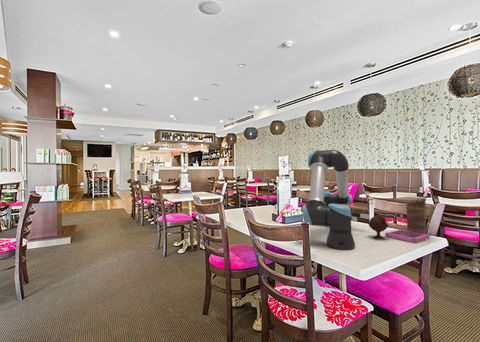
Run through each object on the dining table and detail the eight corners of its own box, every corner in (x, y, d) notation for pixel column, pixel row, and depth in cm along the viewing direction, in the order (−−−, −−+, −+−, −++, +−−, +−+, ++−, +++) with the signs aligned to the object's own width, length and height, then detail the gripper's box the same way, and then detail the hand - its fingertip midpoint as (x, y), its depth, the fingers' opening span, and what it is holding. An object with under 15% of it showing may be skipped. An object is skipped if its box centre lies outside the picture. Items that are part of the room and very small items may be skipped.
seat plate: (415, 243, 139) (414, 238, 139) (385, 236, 154) (385, 232, 154) (429, 238, 147) (429, 234, 147) (400, 233, 162) (399, 229, 162)
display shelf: (410, 242, 141) (409, 200, 142) (391, 237, 151) (390, 198, 151) (428, 237, 151) (427, 198, 151) (408, 233, 161) (408, 196, 161)
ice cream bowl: (383, 235, 156) (382, 212, 156) (392, 240, 145) (391, 215, 145) (365, 235, 157) (365, 212, 157) (373, 240, 146) (373, 215, 146)
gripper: (347, 216, 185) (374, 221, 167) (324, 220, 173) (351, 226, 154) (347, 206, 185) (374, 210, 166) (324, 210, 173) (350, 214, 154)
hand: (363, 218), depth 160 cm, fingers open, 13 cm apart
